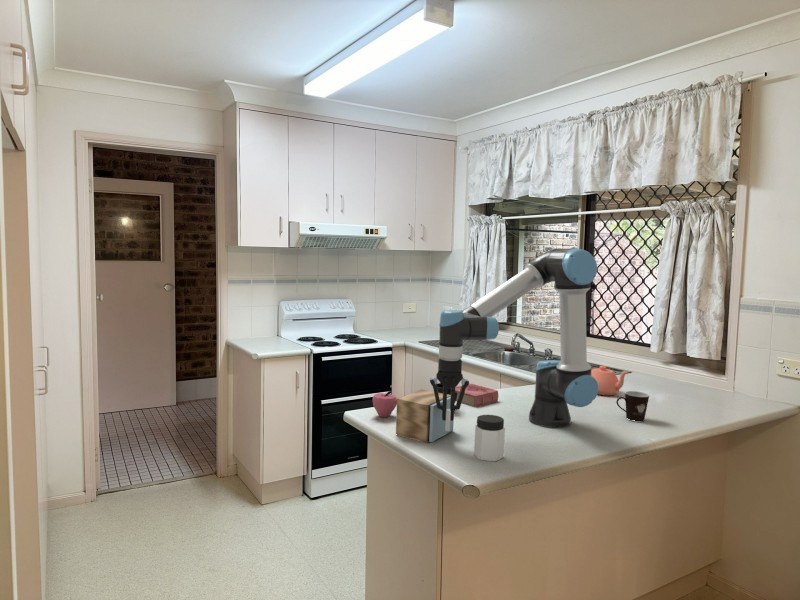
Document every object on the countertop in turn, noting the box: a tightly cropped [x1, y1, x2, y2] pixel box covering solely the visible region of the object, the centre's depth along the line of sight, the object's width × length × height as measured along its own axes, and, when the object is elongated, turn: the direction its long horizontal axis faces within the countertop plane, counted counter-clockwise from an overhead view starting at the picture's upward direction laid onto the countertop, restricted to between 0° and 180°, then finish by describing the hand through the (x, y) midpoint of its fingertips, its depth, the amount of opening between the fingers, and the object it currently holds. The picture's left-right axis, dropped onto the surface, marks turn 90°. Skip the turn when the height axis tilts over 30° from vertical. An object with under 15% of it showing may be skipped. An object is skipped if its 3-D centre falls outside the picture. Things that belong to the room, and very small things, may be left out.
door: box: [428, 396, 455, 443], centre depth 188 cm, size 1×16×12 cm, turn 147°
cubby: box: [395, 389, 451, 444], centre depth 192 cm, size 12×16×12 cm
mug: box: [436, 382, 457, 402], centre depth 219 cm, size 8×12×10 cm
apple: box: [372, 390, 398, 418], centre depth 208 cm, size 10×9×10 cm
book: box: [455, 383, 499, 408], centre depth 235 cm, size 14×15×5 cm
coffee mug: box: [616, 390, 650, 422], centre depth 216 cm, size 12×9×10 cm
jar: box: [473, 414, 506, 462], centre depth 172 cm, size 9×8×12 cm
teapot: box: [591, 365, 629, 396], centre depth 254 cm, size 22×15×12 cm
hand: (447, 429), depth 182 cm, fingers closed
